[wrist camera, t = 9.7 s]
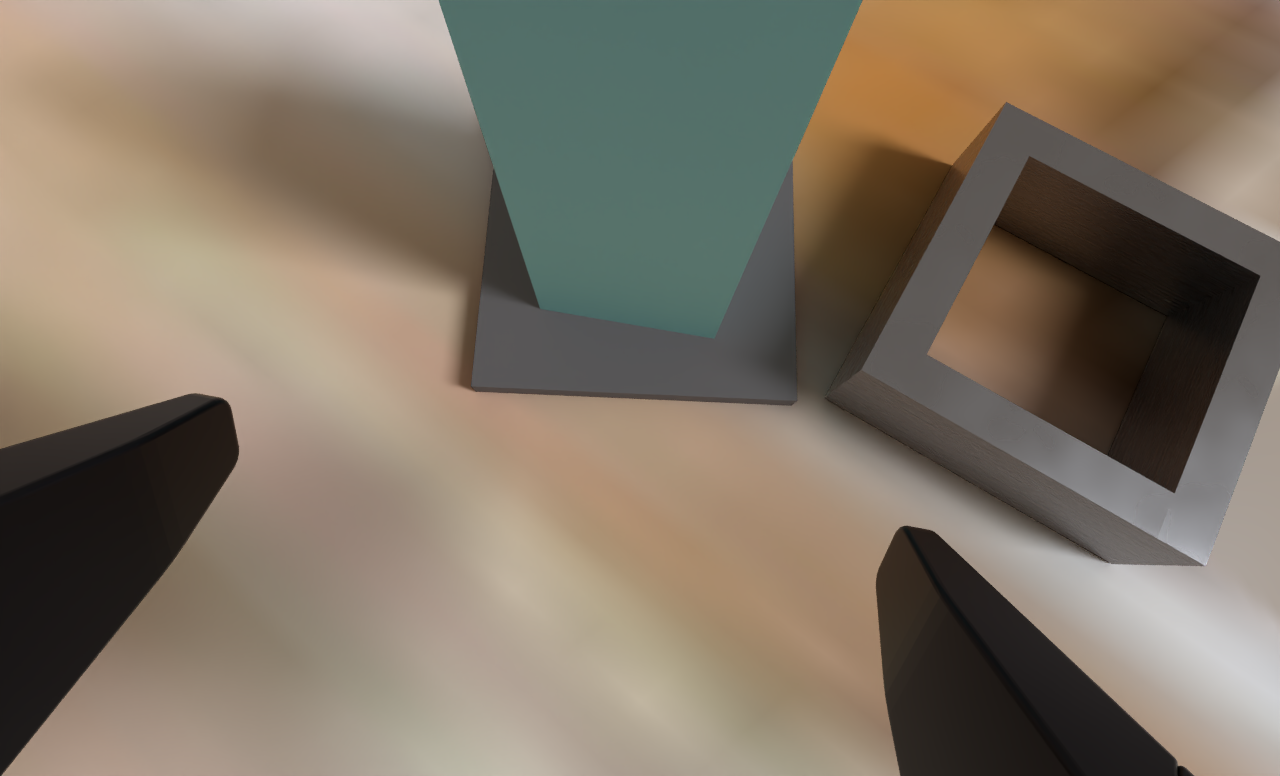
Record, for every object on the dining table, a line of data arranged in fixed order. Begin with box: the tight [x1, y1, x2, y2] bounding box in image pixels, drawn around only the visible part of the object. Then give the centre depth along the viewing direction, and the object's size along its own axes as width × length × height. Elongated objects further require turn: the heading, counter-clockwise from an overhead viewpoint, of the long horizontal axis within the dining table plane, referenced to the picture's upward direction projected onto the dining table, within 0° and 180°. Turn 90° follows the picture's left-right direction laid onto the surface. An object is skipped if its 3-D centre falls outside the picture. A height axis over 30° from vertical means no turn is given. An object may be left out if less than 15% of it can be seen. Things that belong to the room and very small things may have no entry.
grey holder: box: [825, 102, 1280, 566], centre depth 18 cm, size 9×9×3 cm
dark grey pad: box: [471, 162, 797, 405], centre depth 20 cm, size 9×9×1 cm
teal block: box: [439, 0, 862, 339], centre depth 14 cm, size 5×5×12 cm
